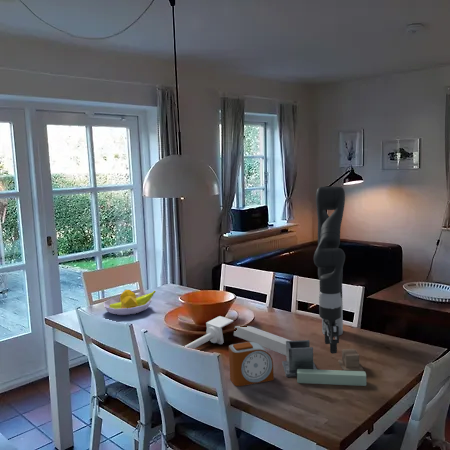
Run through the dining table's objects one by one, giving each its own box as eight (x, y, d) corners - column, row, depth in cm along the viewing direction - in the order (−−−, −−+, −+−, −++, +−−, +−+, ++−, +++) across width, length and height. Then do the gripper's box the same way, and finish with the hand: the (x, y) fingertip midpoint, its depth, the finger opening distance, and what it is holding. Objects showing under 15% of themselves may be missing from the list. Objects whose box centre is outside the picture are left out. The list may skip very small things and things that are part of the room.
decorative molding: (248, 336, 223) (233, 336, 216) (250, 326, 223) (235, 326, 216) (303, 356, 197) (288, 357, 190) (305, 345, 197) (290, 346, 190)
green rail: (297, 379, 171) (297, 368, 171) (365, 381, 167) (365, 371, 166) (297, 383, 168) (297, 373, 167) (366, 386, 163) (366, 375, 163)
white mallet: (233, 320, 209) (176, 350, 189) (235, 338, 211) (180, 369, 191) (219, 315, 216) (163, 344, 195) (222, 333, 218) (167, 362, 197)
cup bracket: (282, 364, 184) (281, 339, 182) (312, 362, 184) (312, 338, 182) (286, 376, 173) (285, 351, 171) (318, 375, 173) (317, 349, 171)
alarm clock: (235, 387, 166) (234, 351, 164) (228, 377, 174) (227, 343, 172) (274, 380, 170) (273, 345, 168) (265, 371, 178) (264, 337, 177)
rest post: (338, 362, 183) (338, 348, 182) (356, 361, 183) (356, 347, 182) (344, 372, 174) (344, 357, 173) (363, 372, 174) (363, 356, 173)
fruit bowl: (94, 318, 250) (92, 297, 248) (120, 303, 275) (118, 284, 274) (141, 321, 242) (140, 300, 240) (163, 305, 267) (162, 286, 266)
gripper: (315, 298, 171) (316, 341, 173) (323, 310, 156) (324, 356, 158) (335, 297, 171) (336, 340, 173) (346, 309, 156) (346, 355, 158)
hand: (330, 348), depth 165 cm, fingers open, 8 cm apart
